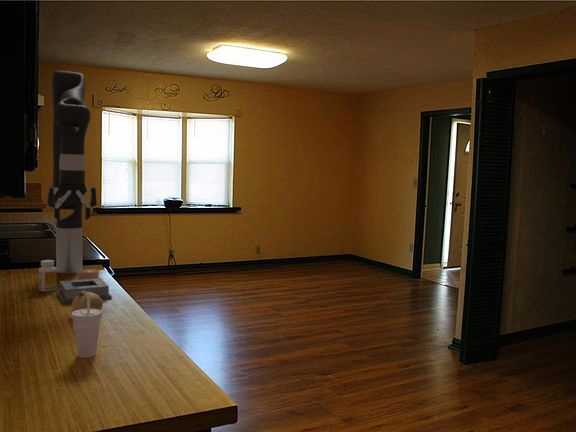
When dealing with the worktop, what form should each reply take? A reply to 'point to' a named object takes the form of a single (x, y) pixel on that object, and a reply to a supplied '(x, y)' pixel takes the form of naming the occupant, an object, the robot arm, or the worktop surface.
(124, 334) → the worktop surface
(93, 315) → the smoothie
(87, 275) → the brown egg
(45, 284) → the supplement bottle
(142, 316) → the worktop surface
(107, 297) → the collar socket
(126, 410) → the worktop surface
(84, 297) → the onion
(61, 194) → the robot arm
